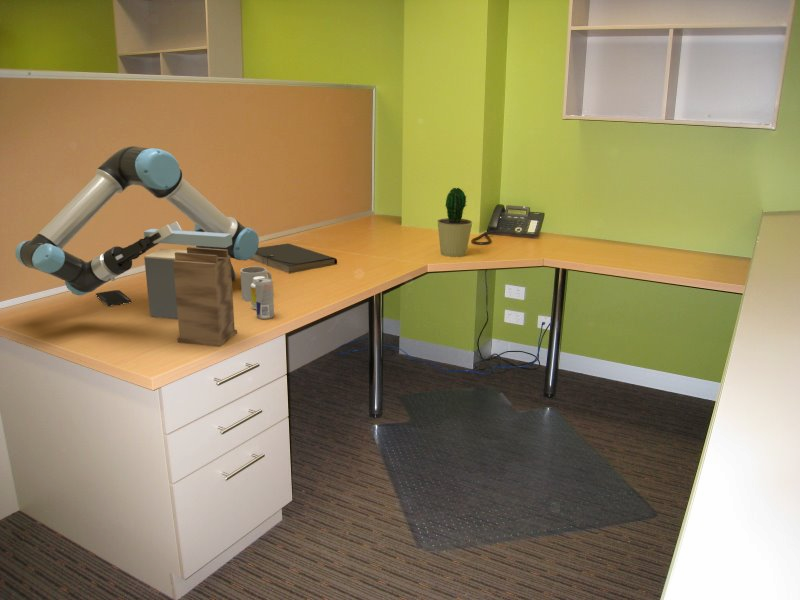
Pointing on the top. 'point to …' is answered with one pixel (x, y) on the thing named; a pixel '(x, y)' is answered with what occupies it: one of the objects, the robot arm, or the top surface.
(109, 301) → the phone
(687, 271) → the top surface
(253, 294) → the supplement bottle
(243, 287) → the mug
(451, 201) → the potted cactus
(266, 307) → the energy drink
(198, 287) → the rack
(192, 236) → the batten
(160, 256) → the block
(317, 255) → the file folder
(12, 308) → the top surface
